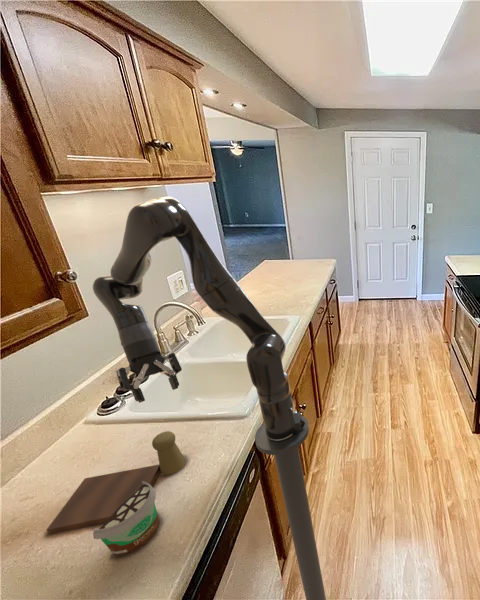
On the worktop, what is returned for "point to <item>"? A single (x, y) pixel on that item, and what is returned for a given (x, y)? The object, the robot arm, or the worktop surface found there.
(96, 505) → the cutting board
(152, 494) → the food container
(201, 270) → the robot arm
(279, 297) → the worktop surface
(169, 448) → the cork
